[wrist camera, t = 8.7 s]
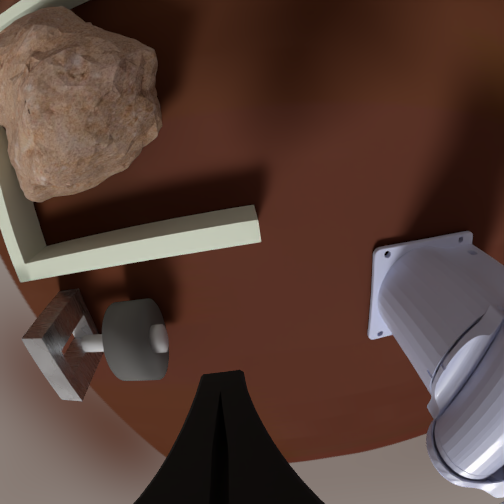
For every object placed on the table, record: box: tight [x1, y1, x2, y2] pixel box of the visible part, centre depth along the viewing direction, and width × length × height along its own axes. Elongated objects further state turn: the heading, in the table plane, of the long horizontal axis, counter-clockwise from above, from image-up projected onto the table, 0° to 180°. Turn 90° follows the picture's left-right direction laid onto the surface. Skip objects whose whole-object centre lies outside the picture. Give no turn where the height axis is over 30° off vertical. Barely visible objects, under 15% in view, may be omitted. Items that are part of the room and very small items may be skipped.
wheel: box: [81, 298, 169, 381], centre depth 18 cm, size 6×5×5 cm
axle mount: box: [22, 289, 104, 401], centre depth 18 cm, size 2×6×6 cm, turn 8°
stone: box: [0, 6, 162, 202], centre depth 11 cm, size 12×9×10 cm
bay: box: [0, 0, 261, 282], centre depth 13 cm, size 16×18×3 cm
